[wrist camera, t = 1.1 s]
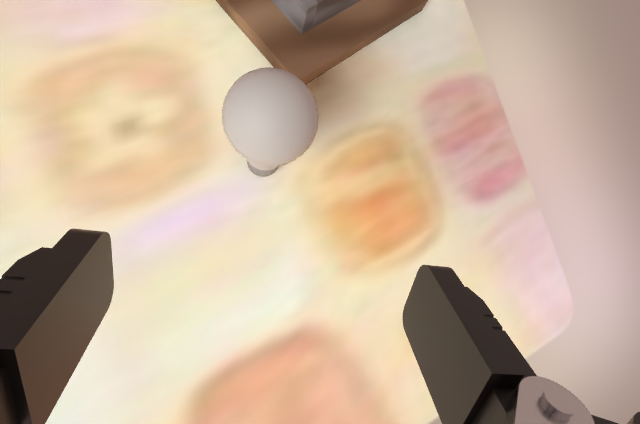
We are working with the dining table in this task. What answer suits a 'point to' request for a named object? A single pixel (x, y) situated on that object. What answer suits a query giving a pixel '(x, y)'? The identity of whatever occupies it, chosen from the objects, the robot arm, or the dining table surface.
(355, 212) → the dining table surface
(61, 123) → the dining table surface
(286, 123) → the lightbulb
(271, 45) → the bulb socket
